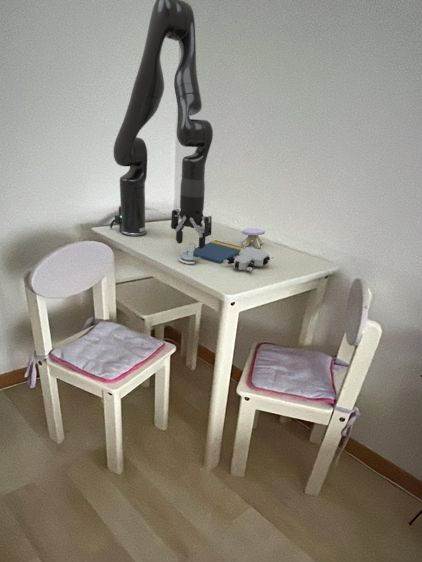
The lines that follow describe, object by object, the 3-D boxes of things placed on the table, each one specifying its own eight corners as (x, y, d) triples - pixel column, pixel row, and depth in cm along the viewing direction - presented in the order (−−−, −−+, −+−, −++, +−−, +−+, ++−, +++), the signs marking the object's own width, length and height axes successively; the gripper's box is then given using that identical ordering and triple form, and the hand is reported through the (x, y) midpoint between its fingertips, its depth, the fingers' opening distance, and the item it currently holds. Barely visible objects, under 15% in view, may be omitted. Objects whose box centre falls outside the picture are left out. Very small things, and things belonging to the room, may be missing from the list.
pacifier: (190, 266, 141) (202, 262, 145) (191, 248, 138) (203, 244, 142) (174, 261, 145) (186, 257, 149) (174, 242, 141) (186, 239, 145)
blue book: (186, 254, 151) (186, 251, 151) (215, 242, 166) (215, 239, 165) (220, 263, 146) (220, 260, 145) (246, 250, 160) (247, 247, 160)
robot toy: (250, 279, 138) (274, 265, 147) (252, 266, 135) (276, 253, 145) (220, 269, 144) (245, 256, 153) (220, 256, 141) (246, 244, 151)
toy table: (245, 249, 162) (247, 233, 159) (235, 242, 169) (237, 227, 166) (268, 248, 165) (270, 233, 162) (257, 241, 172) (259, 226, 169)
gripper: (218, 195, 133) (214, 247, 142) (180, 188, 139) (179, 239, 148) (205, 198, 127) (202, 252, 136) (166, 191, 133) (166, 243, 142)
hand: (190, 245), depth 142 cm, fingers open, 8 cm apart
